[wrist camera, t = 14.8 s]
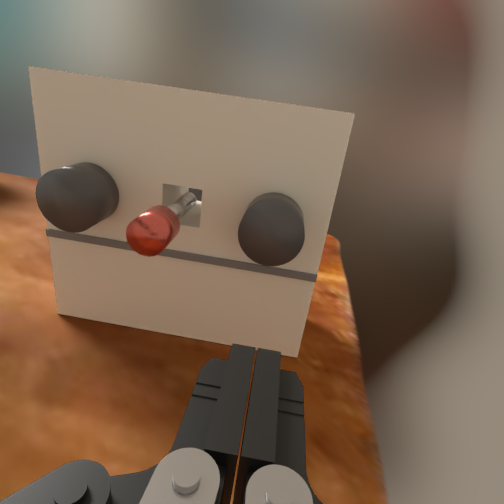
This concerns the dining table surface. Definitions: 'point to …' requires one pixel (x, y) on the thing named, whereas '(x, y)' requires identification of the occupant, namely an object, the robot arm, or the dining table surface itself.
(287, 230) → the knob right
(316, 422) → the dining table surface
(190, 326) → the panel
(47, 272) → the dining table surface
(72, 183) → the knob left
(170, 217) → the red capped lever stalk
